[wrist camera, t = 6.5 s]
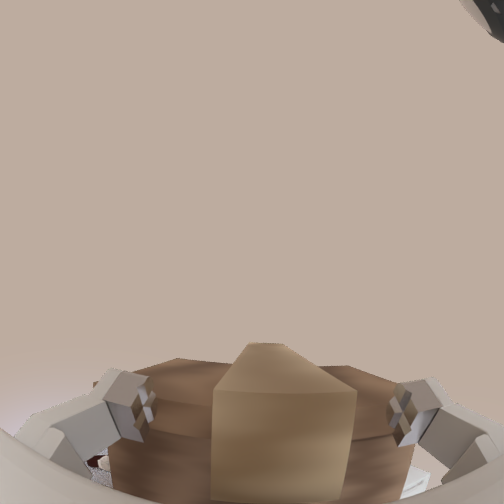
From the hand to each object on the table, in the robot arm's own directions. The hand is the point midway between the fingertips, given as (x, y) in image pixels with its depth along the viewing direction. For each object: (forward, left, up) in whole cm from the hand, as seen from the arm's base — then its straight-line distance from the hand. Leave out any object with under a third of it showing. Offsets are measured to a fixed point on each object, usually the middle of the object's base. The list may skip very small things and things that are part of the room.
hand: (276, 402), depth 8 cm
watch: (+27, -33, -28) cm, 51 cm away
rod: (0, -7, -2) cm, 7 cm away
